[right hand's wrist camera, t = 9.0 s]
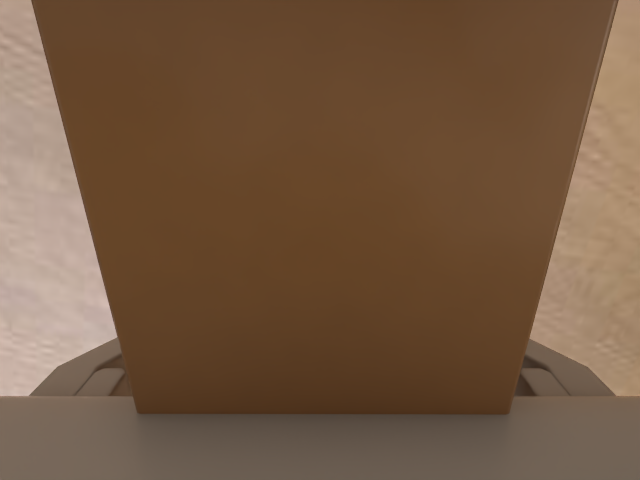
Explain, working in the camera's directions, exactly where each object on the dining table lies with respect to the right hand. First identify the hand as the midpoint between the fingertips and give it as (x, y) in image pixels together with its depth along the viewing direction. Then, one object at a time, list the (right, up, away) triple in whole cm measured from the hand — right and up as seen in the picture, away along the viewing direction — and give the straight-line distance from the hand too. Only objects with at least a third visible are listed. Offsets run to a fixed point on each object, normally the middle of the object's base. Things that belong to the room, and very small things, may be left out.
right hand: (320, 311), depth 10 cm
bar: (0, +9, -1) cm, 9 cm away
